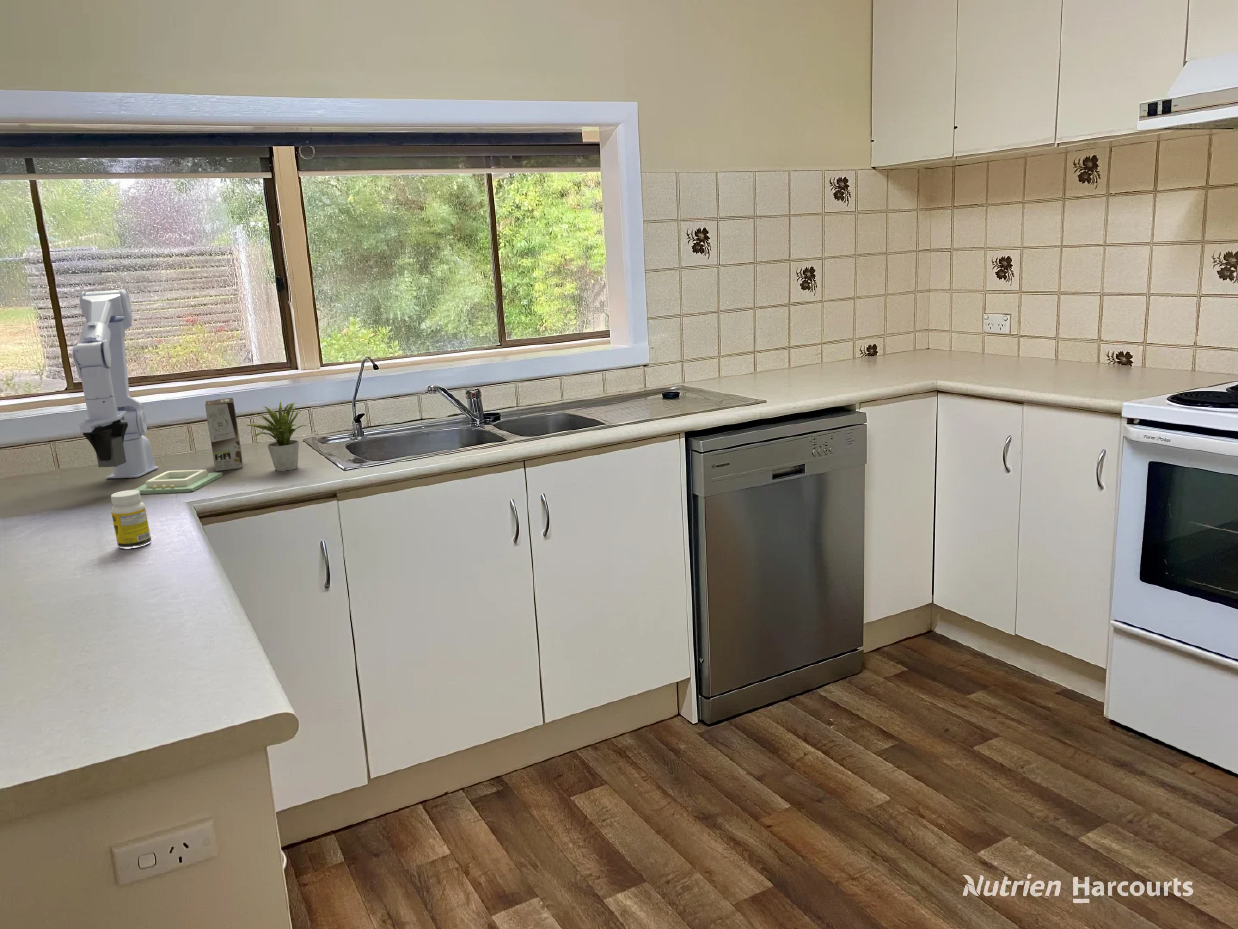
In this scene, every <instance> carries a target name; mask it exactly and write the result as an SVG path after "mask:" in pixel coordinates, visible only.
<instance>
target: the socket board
mask: <svg viewBox="0 0 1238 929" xmlns="http://www.w3.org/2000/svg"><path fill="white" fill-rule="evenodd" d="M221 477H223V472H222V471H221V472H208V470H207V469H206V468H205V469H188V470H187V469H184V470H183V469H182V470H181V469H180V470H166V471H165V472H163V473H161V474H158V475H156V476H154V477H152V478H150V479H148V480H146V481H145V483H144V484H142V485H140V486H138V487H136V488H133V490H138V491H140V495H141V494H142V495H146V494H167V493H168V494H172V493H174V494H175V493H191V492H190V491H194V492H195V491H197V490H198V489H201V488H202V486H203V485H205V486H206V485H208V484H210V483H212V482H214V481H215V480H214V479H216V480H218V479H219V478H221ZM213 480H214V481H213ZM211 481H212V482H211ZM203 487H204V486H203Z"/></svg>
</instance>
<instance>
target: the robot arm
mask: <svg viewBox="0 0 1238 929" xmlns="http://www.w3.org/2000/svg"><path fill="white" fill-rule="evenodd" d="M79 305H80V306H79V307H80V310H81V312H82V316H83V317H84V319H85V321H86V324H84V325H83V326H82V328H81V332H80V337H79V342H78V343H76V346H75V345H74V346H73V347H72V357H73V362H74V363H73V364H74V366H75V368H76V371H77V375H78V378H79V379H81V384H82V392H83V396H84V400H85V406H86V412H87V416H88V417H85V418H84V421H83V422H82V423H79V429H80V433H82V435H83V436H84V437H85V439H87V440H88V442H89V443H90V445H91V446H92V448H93V450H94V451H95V455H96V454H97V455H96V457H97V456H98V458H99V460H100V461H108V460H110V459H111V452H110V437H114V436H122V441H123V446H124V452H125V457H126V463H124V464H121V465H119V466H117V467H112V470H113V473H111V474H110V475H107V476H106V479H127V478H133V479H134V478H140V477H141V476H144V475H146V474H148V473H151V472H153V471H155V470H157V469H158V468H159V466H158V465H155V462H154V455H153V450H152V449H153V448H152V445H151V444H152V443H151V441H150V440H149V439H148V438H147V436H145V434H146V433H147V430H148V423H147V417H146V413H145V408H144V406H143V405H142V403H141V402H140V401H138V400H137V399H135V398H133V397H131V396H130V386H129V375H128V374H129V373H128V365H127V354H126V345H125V344H126V343H125V342H126V341H125V337H126V330H128V329H129V328H131V327H132V326H133V324H132V322H133V315H132V306H131V305H132V304H131V299H130V295H129V293H128V291H127V290H125V289H123V288H122V289H116V290H115V289H114V290H99V291H97V290H96V291H82V292H81V293H80V295H79Z"/></svg>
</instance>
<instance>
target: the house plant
mask: <svg viewBox="0 0 1238 929" xmlns="http://www.w3.org/2000/svg"><path fill="white" fill-rule="evenodd" d="M296 403H297V401H294V402H292V403H289V404H287V405H286V406H285V407H284V409H283V405H282V402H281V401H280V402H279V407H278V411H277V412H278V414H277V412H276V411H274V410H271V409H270V408H269V407H268V406H265V405H262V407H264V408H265V410H266V411H267V412H268V415H269V417H270V418H271V419H270V418H268V417H267V416H265V415H261V414H259V413H257V412H252V414H254V415H256V416H259V418H261V419H262V420H263V421H264V422H265V424H266V425H264V424H258V423H257V424H246V426H247V427H253V428H257V431H259V432H258V433H255V434H254V435H253V438H256V437H257V436H259V435H266V436H267V437H268V438H270V439H271V440H274V441H273V442H269V443H267V448H268V451H269V455H270V457H271V460H272V464H273V468H274V470H275V471H276V470H277V471H276V472H287V471H286V470H290V471H293V470H292V469H294V470H296V469H295V468H297V467H298V468H299V447H300V446H299V445H300V444H299V443H300V441H299V440H297V439H291V437H292V436H293V434H294V432H295V431H297V429H299V428H301V427H308V425H306V424H305V425H298V426H297V425H296V423H294V421H295V420H296V419H297V417H298V416H299V415H298V414H300V413H301V411H299V410H300V407H299V409H297V411H296V413H295V410H296V407H297V405H295V404H296ZM294 413H295V414H294ZM293 415H294V416H293ZM294 426H295V427H296V428H293V427H294ZM258 429H260V430H261V431H260V430H258ZM265 431H268V432H265ZM271 437H272V438H271ZM298 468H297V469H298Z"/></svg>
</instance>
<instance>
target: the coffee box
mask: <svg viewBox="0 0 1238 929" xmlns="http://www.w3.org/2000/svg"><path fill="white" fill-rule="evenodd" d="M204 406H205V412H206V420H207V426H208V432H209V438H210V444H211V451H212V457H213V462H214V470H215V471H216V472H219V471H226V470H227V471H228V470H235V469H242V468H243V455H242V448H241V447H242V446H241V440H240V439H241V438H240V432H239V428H238V421H237V413H236V409H235V408H236V407H235V403H234V398H233V397H229V398H228V397H227V398H219V399H218V398H217V399H213V400H206V401H205V404H204ZM241 467H242V468H241Z"/></svg>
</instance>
